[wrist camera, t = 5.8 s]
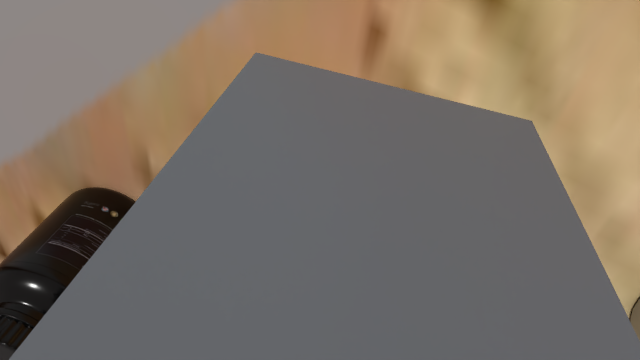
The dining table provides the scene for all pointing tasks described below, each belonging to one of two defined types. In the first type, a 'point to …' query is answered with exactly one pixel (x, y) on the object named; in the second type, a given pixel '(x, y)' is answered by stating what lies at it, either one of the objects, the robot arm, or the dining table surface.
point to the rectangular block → (343, 239)
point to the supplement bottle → (53, 260)
